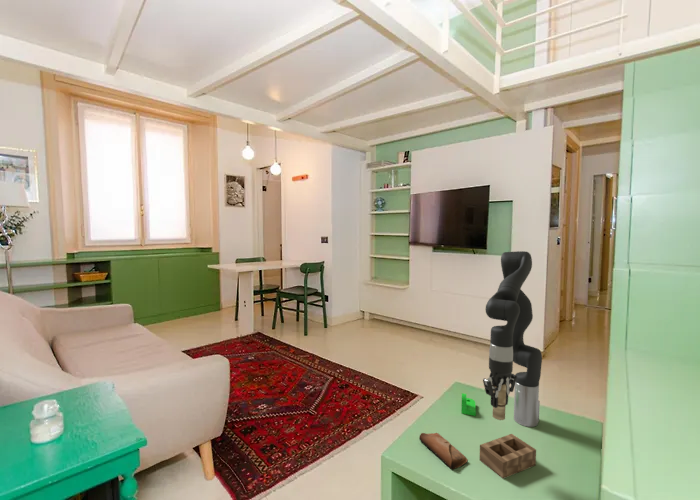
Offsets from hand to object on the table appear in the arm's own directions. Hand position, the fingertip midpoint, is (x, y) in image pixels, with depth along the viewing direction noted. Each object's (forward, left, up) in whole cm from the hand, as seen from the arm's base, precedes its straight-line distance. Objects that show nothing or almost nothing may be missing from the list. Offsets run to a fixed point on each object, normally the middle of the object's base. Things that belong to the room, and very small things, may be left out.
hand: (499, 405), depth 115 cm
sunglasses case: (+11, -13, -22) cm, 29 cm away
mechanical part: (-18, -33, -22) cm, 44 cm away
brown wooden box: (-4, +1, -22) cm, 22 cm away
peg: (0, 0, -4) cm, 4 cm away
